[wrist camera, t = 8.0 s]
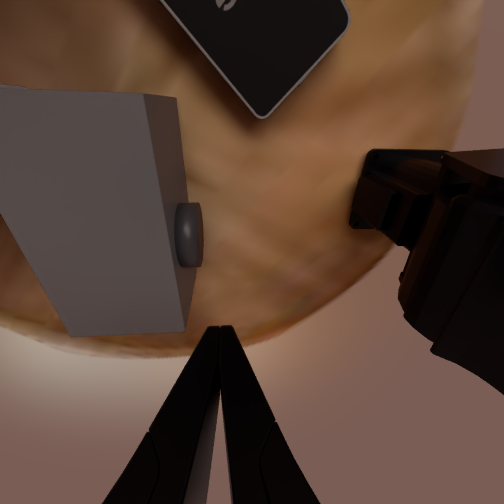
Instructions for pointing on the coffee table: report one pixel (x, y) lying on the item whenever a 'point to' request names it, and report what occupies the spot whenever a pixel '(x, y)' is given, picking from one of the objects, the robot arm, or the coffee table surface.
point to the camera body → (101, 207)
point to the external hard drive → (262, 42)
